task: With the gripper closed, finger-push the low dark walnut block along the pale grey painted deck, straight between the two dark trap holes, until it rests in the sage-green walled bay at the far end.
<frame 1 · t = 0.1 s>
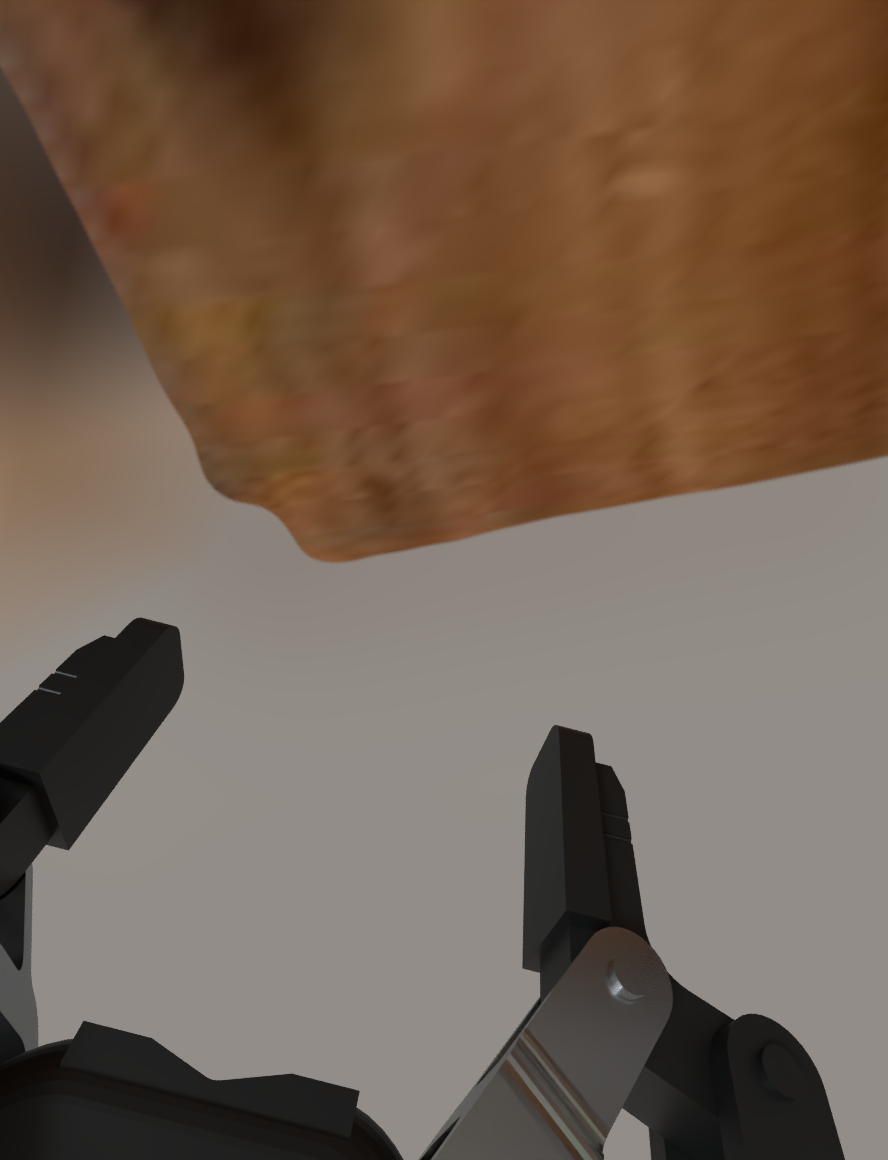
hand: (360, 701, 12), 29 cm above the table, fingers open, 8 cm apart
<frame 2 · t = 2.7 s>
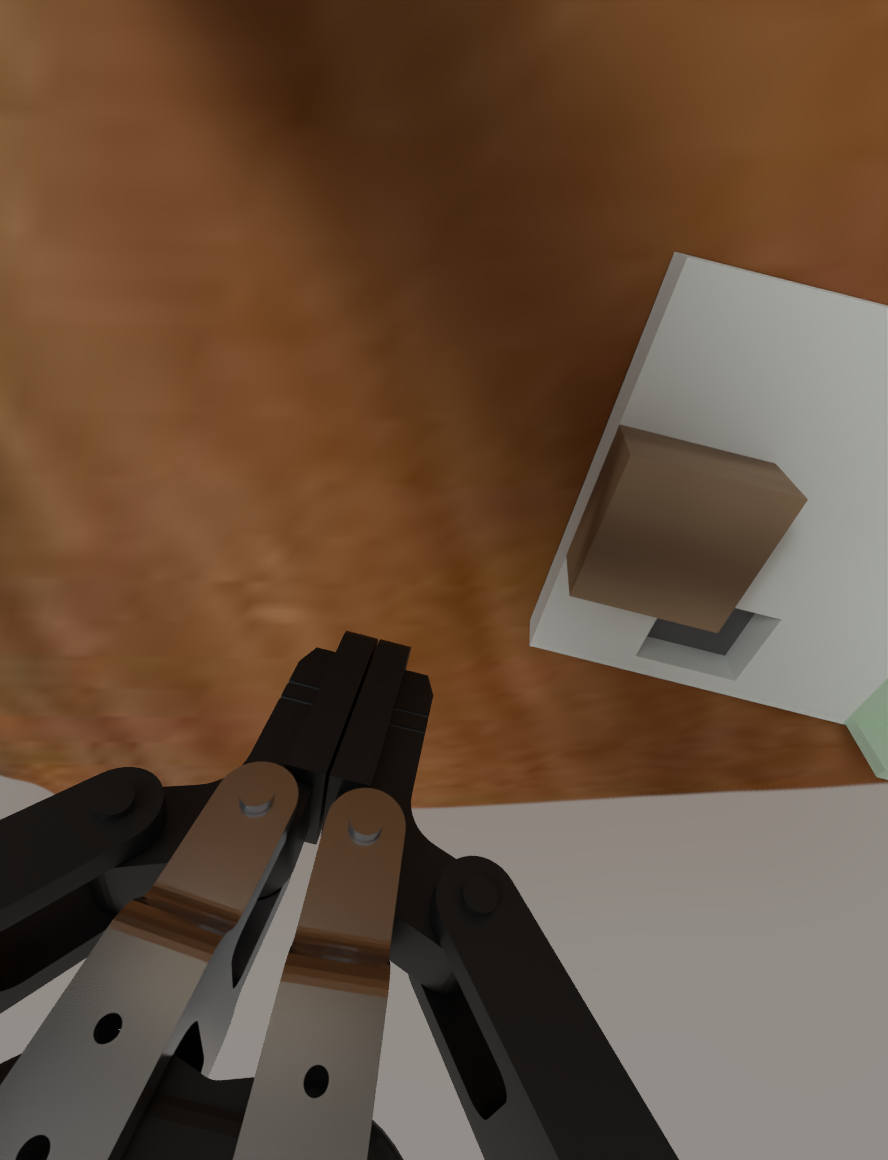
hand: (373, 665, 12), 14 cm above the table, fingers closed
deck: (854, 542, 24), on the table
block: (662, 513, 22), point 2 cm above the table, touching deck
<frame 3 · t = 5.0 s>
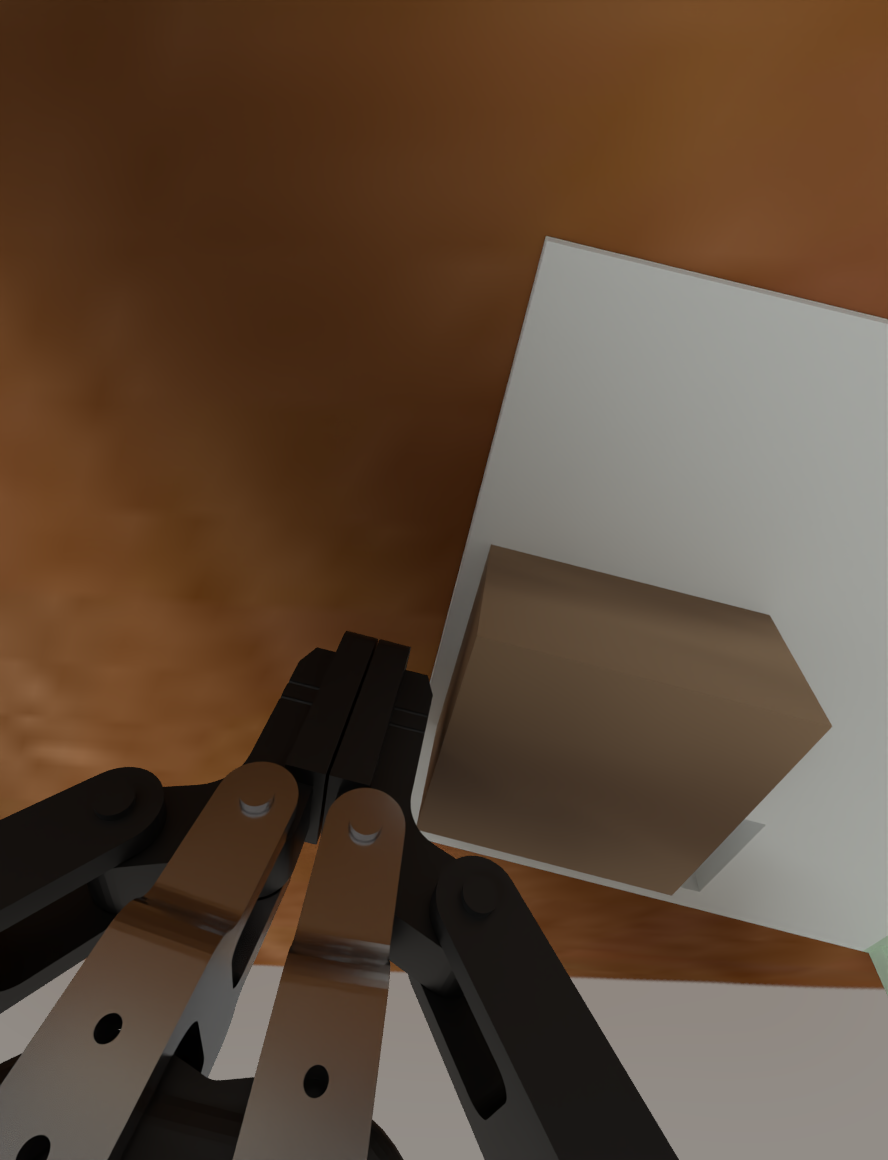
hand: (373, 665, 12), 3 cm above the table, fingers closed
deck: (882, 705, 15), on the table
block: (580, 678, 13), point 2 cm above the table, touching gripper
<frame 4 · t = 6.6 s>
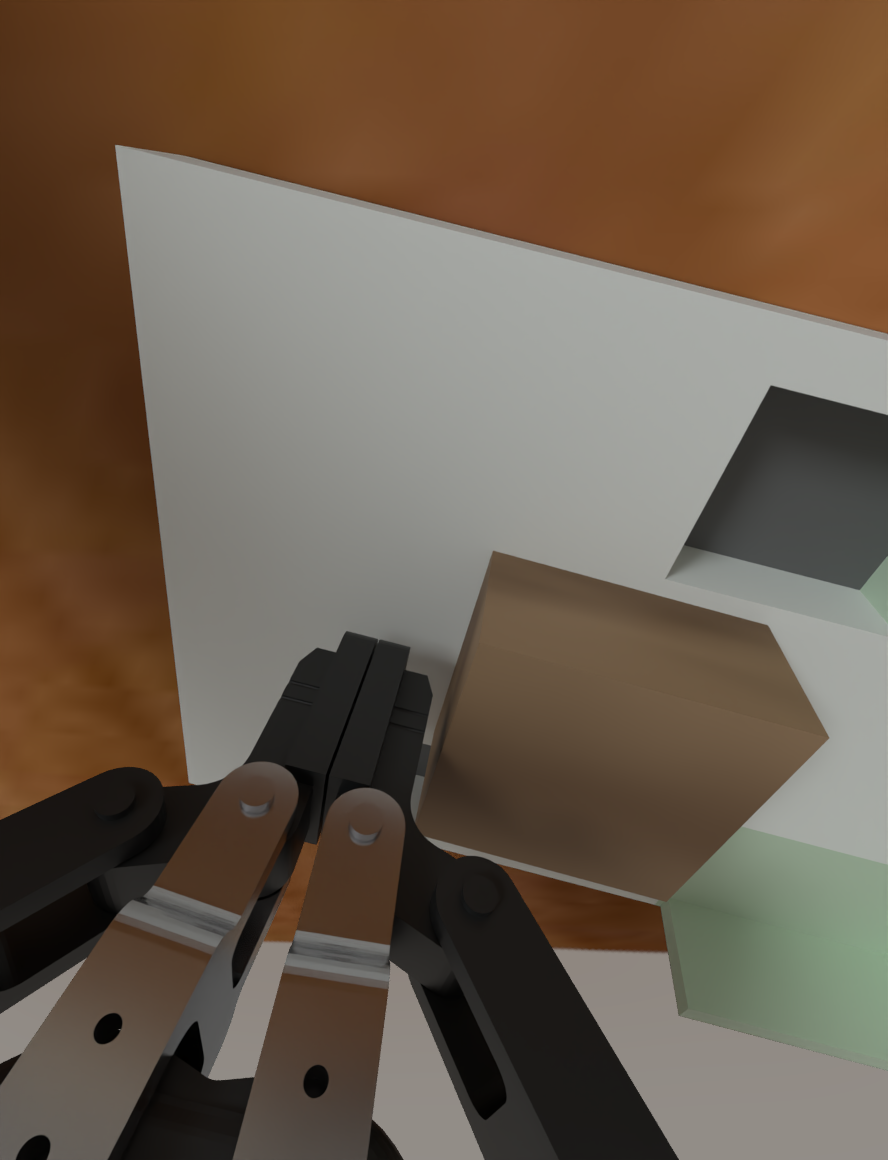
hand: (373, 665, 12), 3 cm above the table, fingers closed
deck: (631, 649, 15), on the table
block: (579, 684, 13), point 2 cm above the table, touching deck, gripper
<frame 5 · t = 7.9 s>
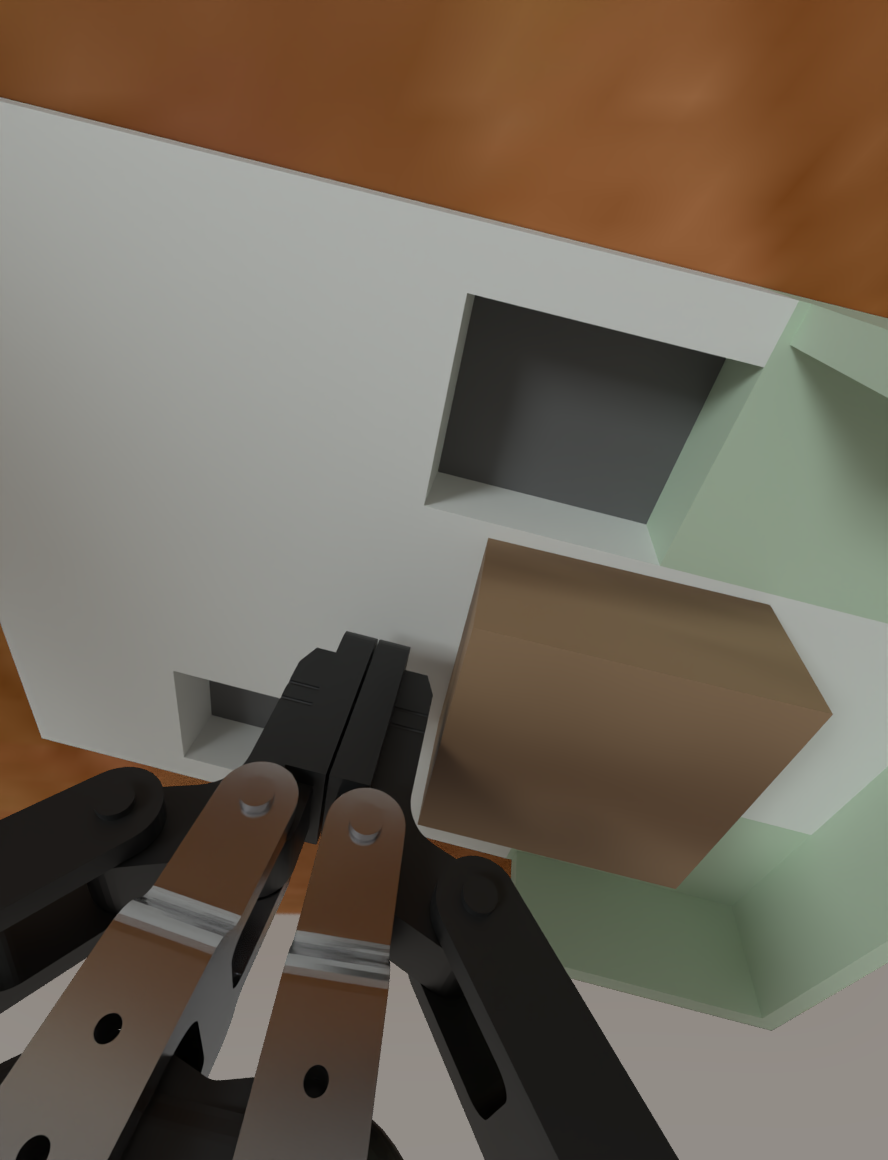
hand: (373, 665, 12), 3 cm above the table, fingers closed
deck: (449, 594, 15), on the table
block: (581, 672, 13), point 2 cm above the table, touching gripper
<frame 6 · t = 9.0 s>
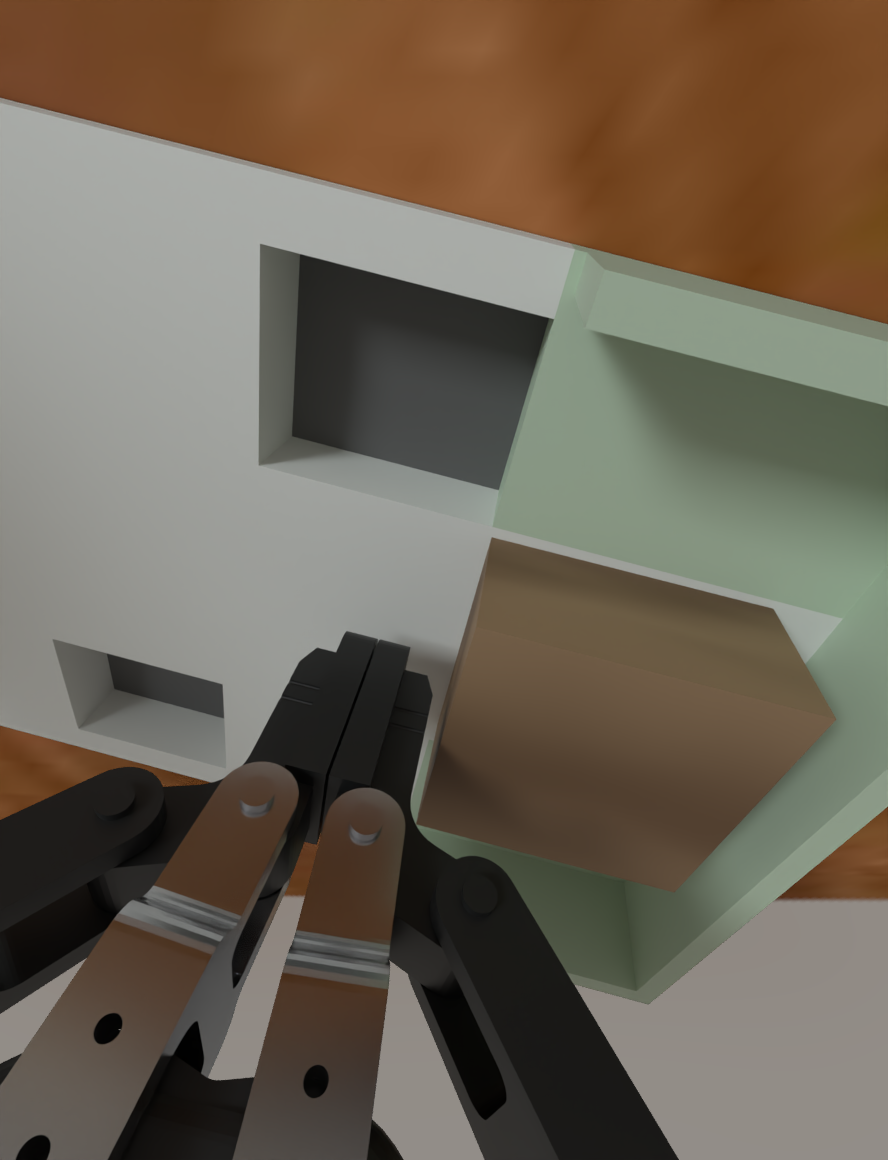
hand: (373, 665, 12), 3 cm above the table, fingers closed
deck: (324, 563, 15), on the table
block: (582, 673, 13), point 2 cm above the table, touching deck, gripper
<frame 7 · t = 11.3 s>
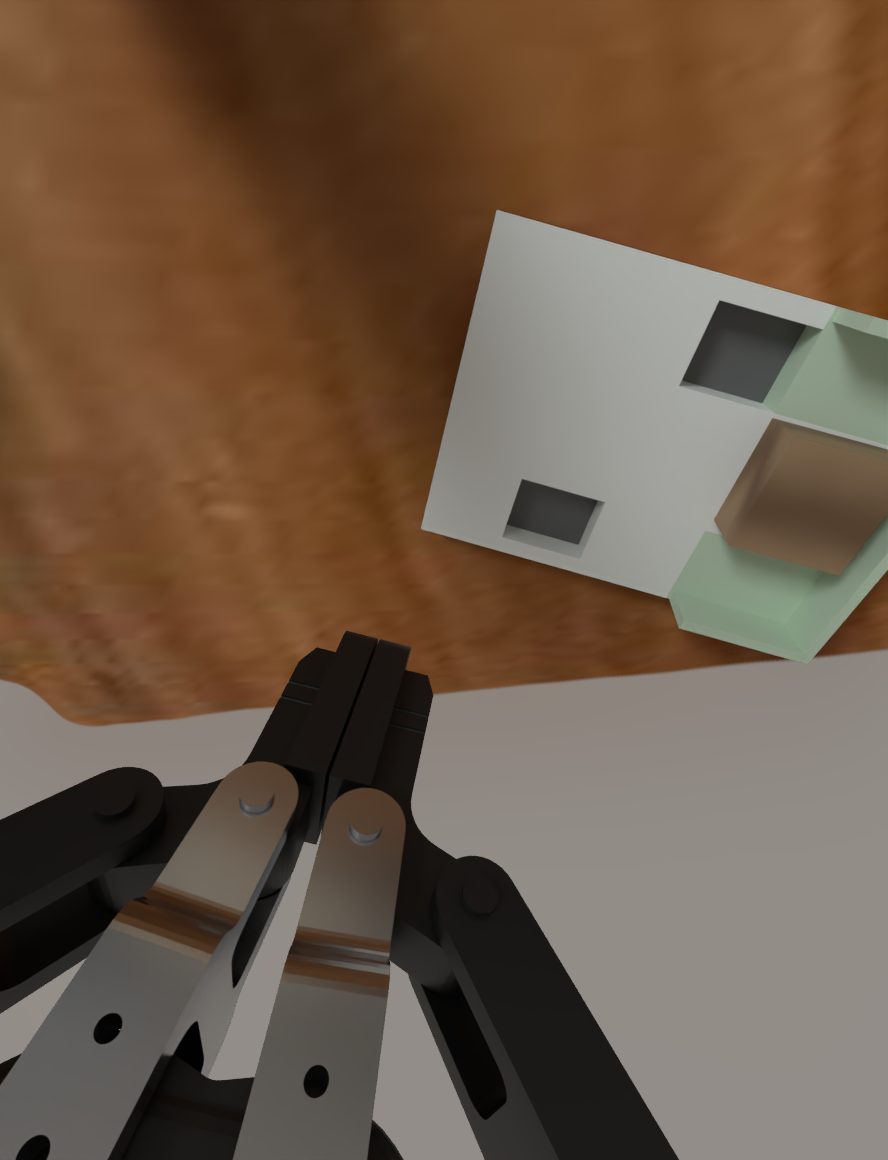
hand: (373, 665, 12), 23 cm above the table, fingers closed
deck: (659, 443, 31), on the table
block: (795, 486, 29), point 2 cm above the table, touching deck
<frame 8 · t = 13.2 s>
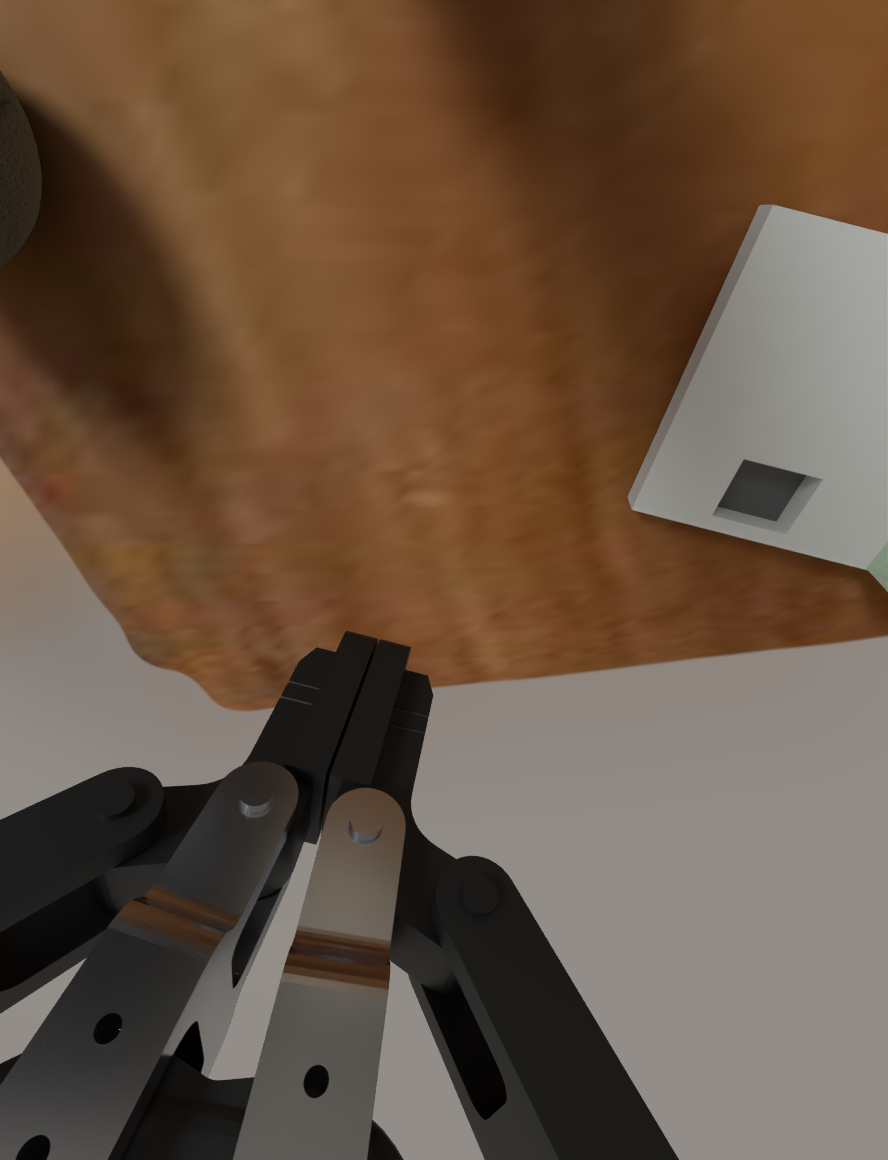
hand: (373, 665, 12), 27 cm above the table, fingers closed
deck: (876, 422, 33), on the table
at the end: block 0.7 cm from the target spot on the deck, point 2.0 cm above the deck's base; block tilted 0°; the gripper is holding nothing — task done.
